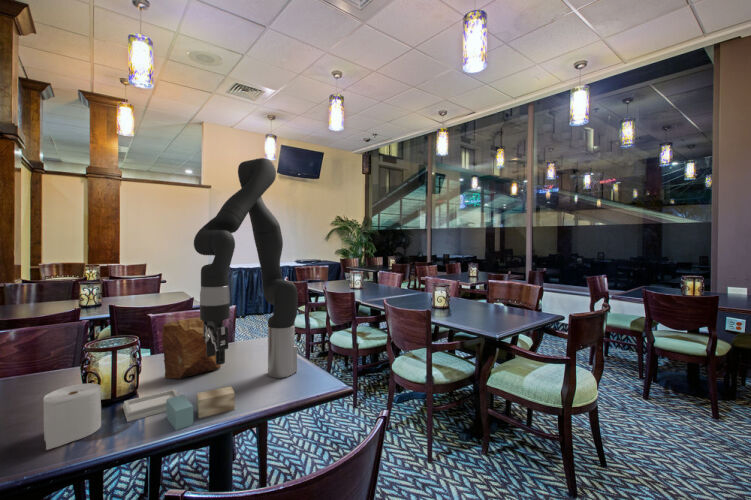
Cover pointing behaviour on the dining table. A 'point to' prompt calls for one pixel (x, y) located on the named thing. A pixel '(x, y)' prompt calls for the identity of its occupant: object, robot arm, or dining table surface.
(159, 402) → the jig
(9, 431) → the dining table surface
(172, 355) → the stone
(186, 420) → the teal block
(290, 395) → the dining table surface
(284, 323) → the robot arm
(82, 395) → the toilet tissue
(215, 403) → the tan wooden block
